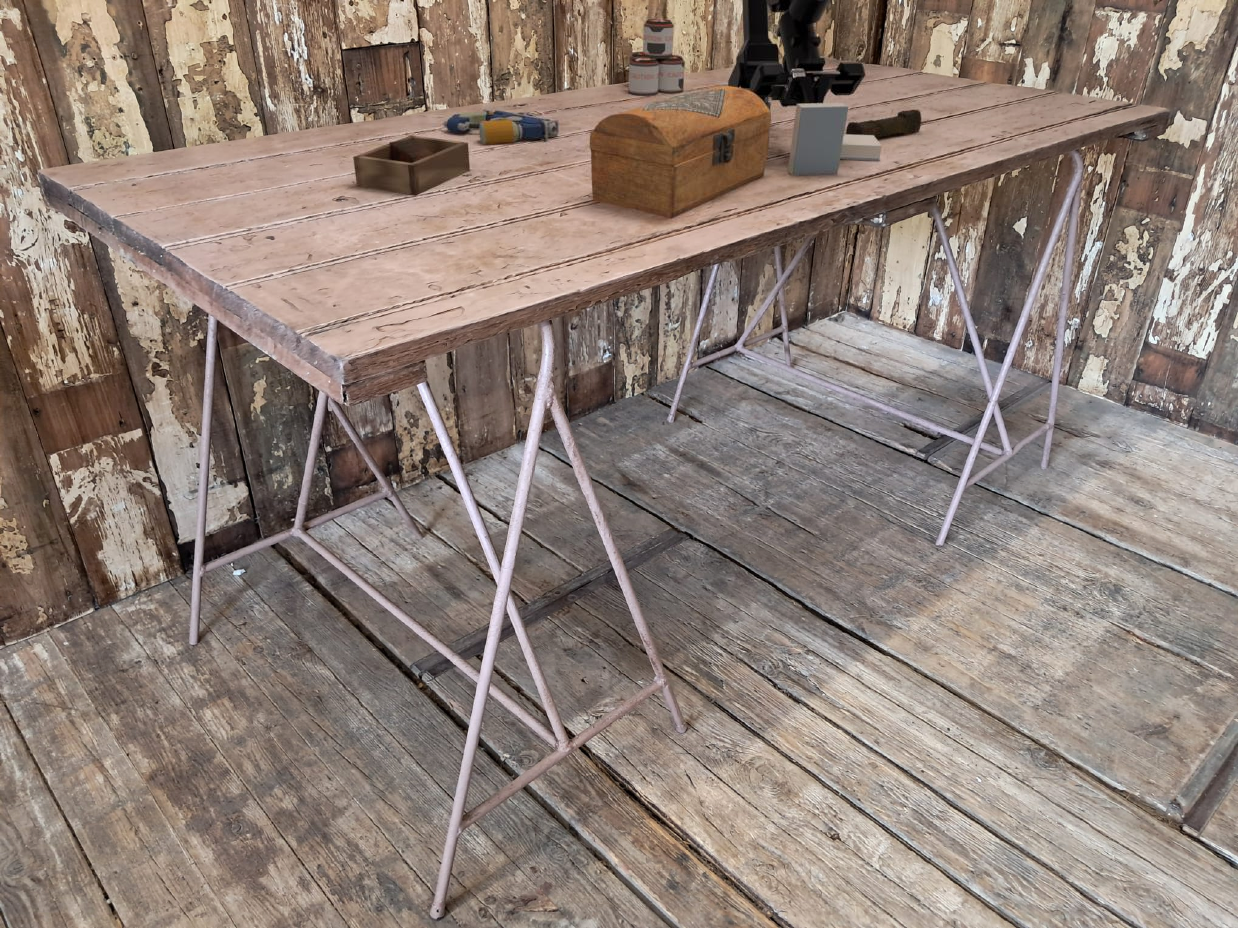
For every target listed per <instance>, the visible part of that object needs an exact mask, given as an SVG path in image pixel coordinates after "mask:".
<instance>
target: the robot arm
mask: <svg viewBox="0 0 1238 928" xmlns="http://www.w3.org/2000/svg"><path fill="white" fill-rule="evenodd" d="M741 1H742V3H741V5H742V21H743V22H742V27H743V28H742V29H743V43H742V45H741V47H740V49H739V51H738V53H737V55H736V58H735V65H734V67H733V69H732V71H731V74H730V75H729V78H728V80H727V86H732V87H738V88H743V89H746V90H749V91H751V92H753V93H755V94H756V95H757V96H759V97H760V98H761V99H762V100H763V102H764V103H765V104H766V105H767V107H768V109H769V110H770V111H771V108H772V107H771V106H772V103H771V102H769V99H771V101H779V104H780V106H781V107H784V108H787V107H796V106H797V104H810V103H825V102H824V101H825V97H826V96H827V94H828V93H829V91H830V93H832V94H833V95H834V96H836V97H837V96H838V97H839V96H850V95H853V94H854V93H855V92H856V90H858V87H859V86H860V84H861V82H862V81H863V80H864V78H865V76H866V70H865V65H863V63H861V61H860V62H859V61H851V62H850V61H849V62H846V61H845V62H842V61H841V62H839V63H838V65H837V68H836V69H835V70H824V66H825V65H826V58H825V57H821V54H820V49H819V46H820V45H821V43H822V41H821V40H822V39H821V36H817V34H816V30H815V23H818V22H820V21H821V18H822V17H823V15H824V13H825V11H826V9H827V7H828V5H829V4H830V1H831V0H741ZM768 8H769V10H770V12H771V13H783V14H782V15H781V16H780V18H779V20H778V28H777V30H776V36H777V38H781V43H782V48H783V53H784V55H783V56H782V58H781V60H782V61H781V62H782V63H780V61H779V60H780V59H779V53H780V52H779V51H780V50H779V46H778V44H777V43H773V42H772V41H771V39H770V36H769V35H770V34H769V14H768V12H769V11H768Z"/></svg>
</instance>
